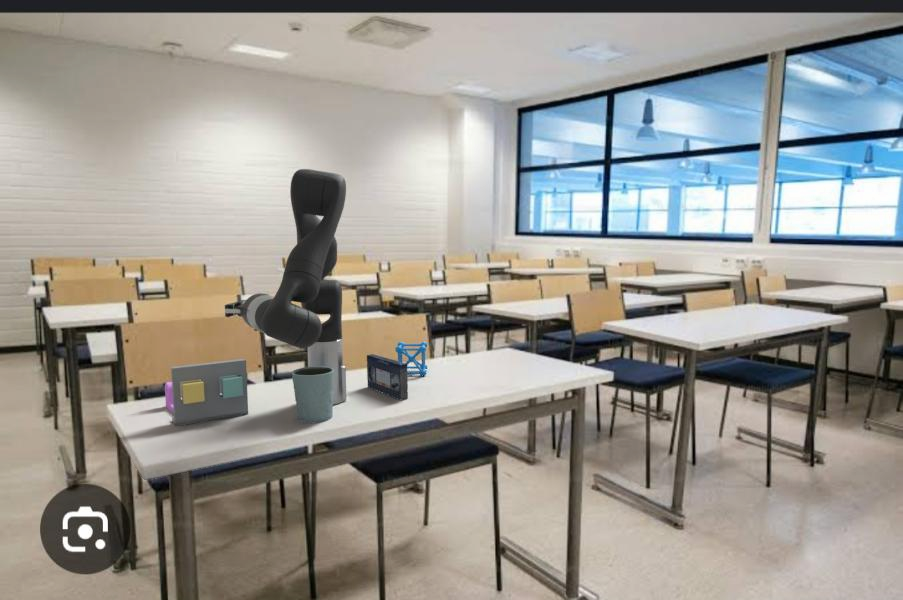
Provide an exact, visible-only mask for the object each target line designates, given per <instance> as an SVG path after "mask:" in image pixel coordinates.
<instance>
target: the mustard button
mask: <svg viewBox="0 0 903 600" xmlns="http://www.w3.org/2000/svg"><path fill="white" fill-rule="evenodd" d="M180 389H181V399H183V404H189V403H195V402H202V401H205V398H204V382H201V380H194V381H186V382H180Z"/></svg>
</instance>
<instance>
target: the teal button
mask: <svg viewBox="0 0 903 600" xmlns="http://www.w3.org/2000/svg"><path fill="white" fill-rule="evenodd" d="M220 395H223V398H230V397H236V396H243V382H242V377H239V375H233V376H225V377H220Z"/></svg>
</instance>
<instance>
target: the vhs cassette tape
mask: <svg viewBox="0 0 903 600" xmlns="http://www.w3.org/2000/svg"><path fill="white" fill-rule="evenodd" d="M404 363H405V362H403V361H402V362H398V360H396V359H392V358H388V357H384V356H380V355H377V354H367V355H366V371H367V372H366V377H367V378H366V379H367V388H369V387H370V388H369V389H371V388H373V389H372V390H374V389H375V390H374V391H376V390H378V391H377V392H379V391H380V392H379V393H381V392H383V393H382V394H384V393H385V394H384V395H386V394H388V395H387V396H389V395H390V396H389V397H392V396H393V397H392V398H394V397H395V399H397V398H398V399H397V400H399V399H403V400H405V398H406V399H407V398H409V395H408V394H409V393H408V392H409V391H408V389H409V387H408V386H409V385H408V380H409V378H408V374H407V372H408V369H407V366H408V365H407V364H404Z"/></svg>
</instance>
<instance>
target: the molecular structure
mask: <svg viewBox="0 0 903 600" xmlns="http://www.w3.org/2000/svg"><path fill="white" fill-rule="evenodd" d="M405 347H406V348H405ZM407 347H409V348H407ZM412 347H413V348H412ZM416 347H417V348H416ZM427 348H428V343H427V342H426V341H421V342H420V343H405V342H404V341H399V342H398V343H397V346H396V347H395V348H394V349H395V352H396V353H397V361H398V362H402V363H404V364H407V370H409V368H410V369H411V370H412V369H413V370H414V369H418V370H419V371H407V375H419V376H420V375H425V376H426V375H427V370H428V365H427V364H426V352H427ZM409 351H410V352H411V351H412V352H413V351H415V353H414V354H410V352H409ZM420 354H421V363H420V362H419V360H416V357H417V356H418V355H420ZM403 355H404V356H405V357H407V358H408V359H407V361H405V362H403ZM410 363H413V364H414V365H415V366H414V365H413V366H408V365H409V364H410ZM425 369H427V370H425Z"/></svg>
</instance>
